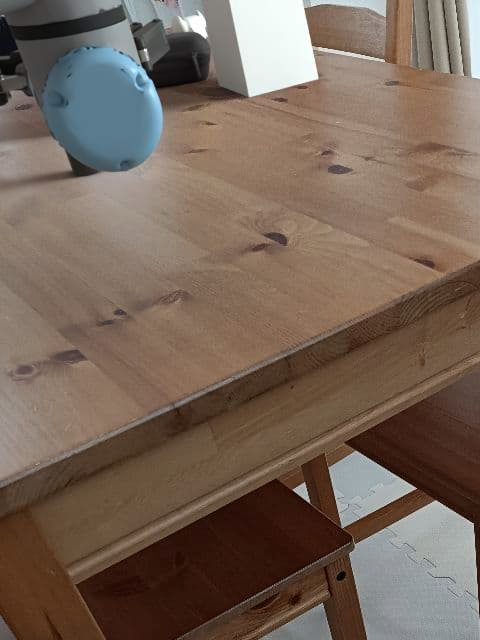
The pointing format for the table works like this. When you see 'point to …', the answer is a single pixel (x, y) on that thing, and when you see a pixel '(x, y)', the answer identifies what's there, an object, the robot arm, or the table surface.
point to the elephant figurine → (189, 24)
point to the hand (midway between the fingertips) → (49, 46)
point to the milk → (259, 44)
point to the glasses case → (182, 60)
